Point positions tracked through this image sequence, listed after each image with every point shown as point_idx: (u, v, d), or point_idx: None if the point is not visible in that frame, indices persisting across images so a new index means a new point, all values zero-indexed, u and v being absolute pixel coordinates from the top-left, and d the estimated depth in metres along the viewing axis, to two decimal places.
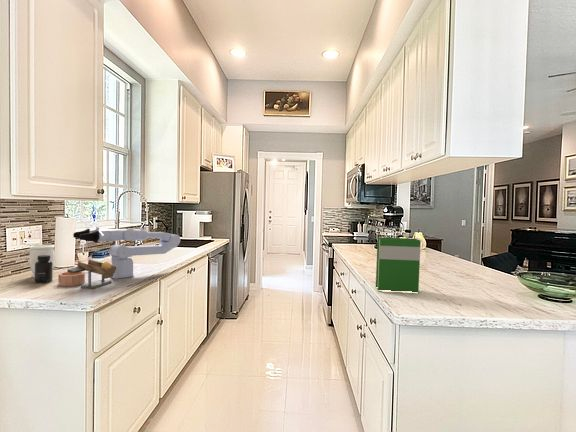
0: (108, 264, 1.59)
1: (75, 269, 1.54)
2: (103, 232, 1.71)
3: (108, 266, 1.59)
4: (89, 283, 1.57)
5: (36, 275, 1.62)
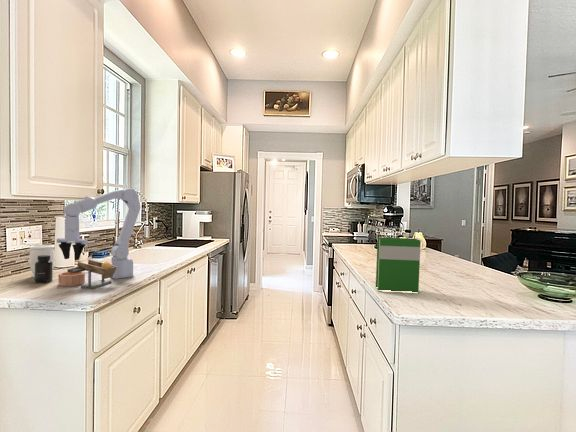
0: (108, 264, 1.59)
1: (75, 269, 1.54)
2: (73, 236, 1.64)
3: (108, 266, 1.59)
4: (89, 283, 1.57)
5: (36, 275, 1.62)
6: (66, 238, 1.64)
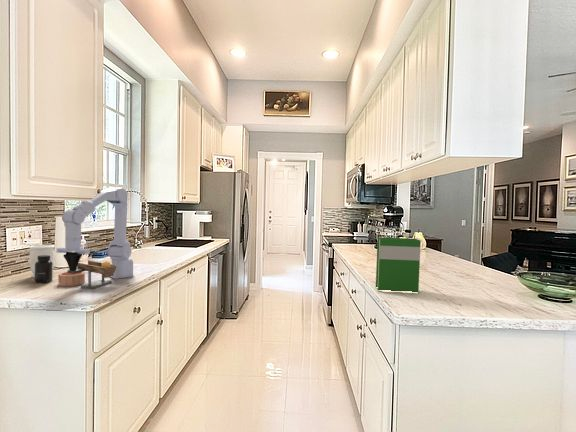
0: (108, 263, 1.59)
1: (75, 270, 1.54)
2: (74, 246, 1.51)
3: (108, 265, 1.59)
4: (89, 283, 1.57)
5: (36, 275, 1.62)
6: (67, 248, 1.51)
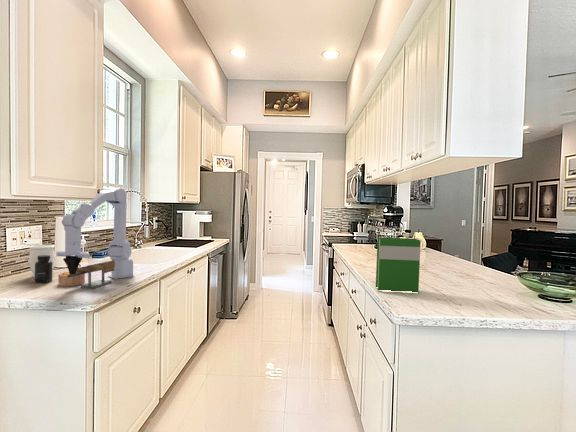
0: None
1: (75, 273, 1.54)
2: (74, 249, 1.51)
3: None
4: (89, 283, 1.57)
5: (36, 275, 1.62)
6: (67, 251, 1.51)
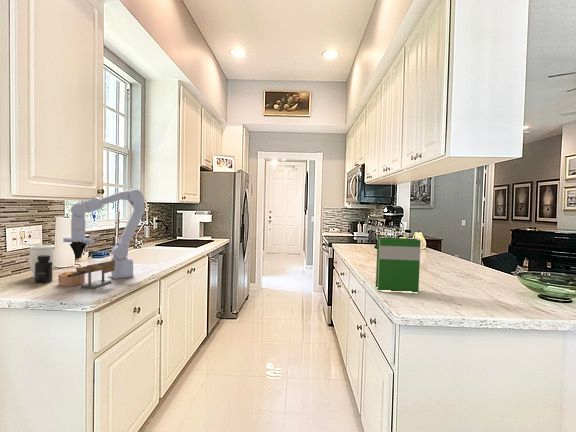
0: None
1: (75, 273, 1.54)
2: (79, 236, 1.67)
3: None
4: (89, 283, 1.57)
5: (36, 275, 1.62)
6: (72, 237, 1.67)
